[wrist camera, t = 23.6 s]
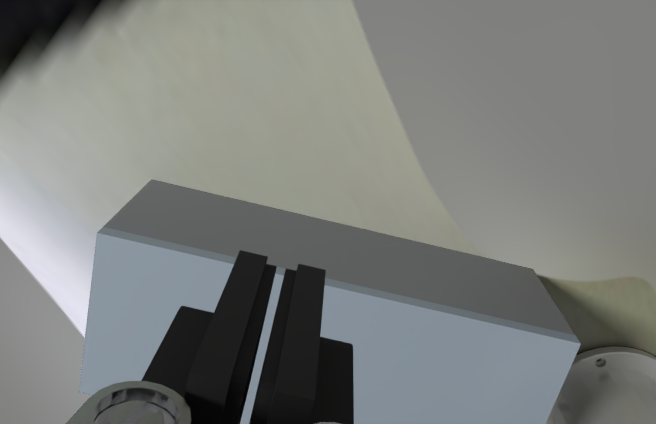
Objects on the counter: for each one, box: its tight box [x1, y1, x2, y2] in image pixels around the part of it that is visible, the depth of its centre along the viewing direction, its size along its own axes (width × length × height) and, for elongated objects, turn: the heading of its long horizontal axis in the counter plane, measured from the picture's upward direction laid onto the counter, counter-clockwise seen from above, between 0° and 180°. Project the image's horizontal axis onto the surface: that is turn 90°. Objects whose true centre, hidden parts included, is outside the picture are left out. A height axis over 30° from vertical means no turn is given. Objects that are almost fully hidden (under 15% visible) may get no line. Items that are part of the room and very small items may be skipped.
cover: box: [79, 227, 581, 424], centre depth 41 cm, size 31×12×1 cm, turn 77°
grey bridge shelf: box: [104, 180, 575, 335], centre depth 46 cm, size 31×12×10 cm, turn 77°
